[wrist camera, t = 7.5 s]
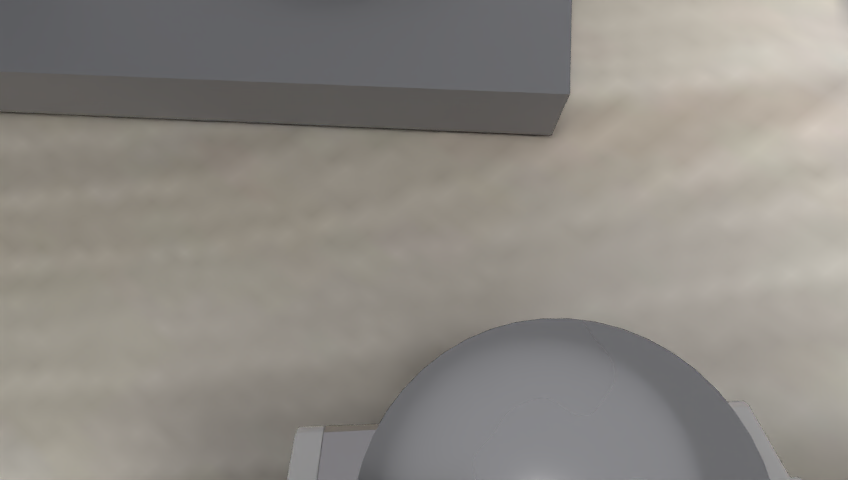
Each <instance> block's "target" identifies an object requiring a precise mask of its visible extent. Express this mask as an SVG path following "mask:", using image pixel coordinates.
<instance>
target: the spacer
mask: <svg viewBox="0 0 848 480" xmlns="http://www.w3.org/2000/svg"><path fill="white" fill-rule="evenodd" d="M357 480H770V478H769V475H768V472H767V470H766V467H765V464H764V461H763V459H762V457H761V455H760V453H759V451H758V449H757V447H756V445H755V443H754V441H753V439H752V437H751V435H750V434H749V432H748V431H747V429H746V428H745V426H744V425H743V423H742V422H741V420H740V418H739V417H738V415H737V414H736V412H735V411H734V410H733V408H732V407H731V406H730V405H729V404H728V403H727V401H726V400H725V399H724V398H723V397H722V395H721V394H720V393H719V392H718V391H717V389H716V388H715V387H714V386H712V385H711V384H710V383H709V382H708V381H707V380H706V379H705V378H704V377H703V376H702V375H701V374H700V373H698V372H697V371H696V370H695V369H694V368H693V367H691V366H690V365H689V364H687V363H686V362H684V361H683V360H682V359H680V358H679V357H678V356H676V355H675V354H673V353H672V352H670V351H668V350H667V349H665V348H663V347H661V346H659V345H658V344H656V343H654V342H652V341H650V340H649V339H646V338H644V337H641V336H639V335H636V334H634V333H631V332H629V331H626V330H624V329H621V328H617V327H614V326H610V325H606V324H602V323H598V322H593V321H585V320H577V319H536V320H529V321H521V322H515V323H511V324H508V325H504V326H501V327H497V328H493V329H490V330H488V331H485V332H483V333H481V334H478V335H476V336H473V337H471V338H469V339H466V340H465V341H463V342H461V343H460V344H458V345H456V346H455V347H453V348H451V349H449V350H448V351H446V352H444V353H443V354H442V355H440V356H439V357H438V358H436V359H435V360H434V361H433V362H431V363H430V364H429V365H428V366H426V367H425V368H424V369H422V370H421V371H420V372H419V373H418V375H417V376H416V377H415V378H414V379H413V380H412V381H411V382H410V383H409V384H408V385H407V386H406V387H405V388H404V389H403V390H402V391H401V393H400V394H399V395H398V397H397V398H396V399H395V401H394V402H393V403H392V405H391V406H390V407H389V409H388V410H387V412H386V413H385V415H384V417H383V419H382V420H381V422H380V424H379V426H378V427H377V429H376V431H375V433H374V435H373V437H372V439H371V442H370V444H369V446H368V449H367V451H366V454H365V456H364V459H363V461H362V465H361V468H360V472H359V476H358V479H357Z"/></svg>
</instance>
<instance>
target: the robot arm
mask: <svg viewBox="0 0 848 480" xmlns="http://www.w3.org/2000/svg"><path fill="white" fill-rule="evenodd" d="M727 403H728V404H729V405H730V406H731V407H732V408H733V410H734V411H735V412H736V414H737V415H738V417H739V418H740V420H741V422H742V423H743V425H744V426H745V428H746V429H747V431H748V432H749V434H750V435H751V437H752V439H753V441H754V443H755V445H756V447H757V449H758V451H759V453H760V455H761V457H762V459H763V461H764V464H765V467H766V470H767V472H768V475H769V478H770V480H802V479H801V478H799V477H790V476H789V475H788V473H787V471H786V469H785V467H784V466H783V464H782V462H781V460H780V459H779V457H778V455H777V453H776V452H775V450H774V448H773V446H772V445H771V443H770V441H769V439H768V438H767V436H766V434H765V432H764V431H763V429H762V427H761V425H760V424H759V422H758V420H757V418H756V417H755V415H754V413H753V411H752V409H751V408H750V406H749V405H748V404H747V403H746V402H744V401H733V402H727ZM378 426H379V424H364V425H334V426H313V427H298V429H297V431H296V434H295V436H294V442H293V448H292V453H291V459H290V465H289V470H288V476H287V480H357V479H358V476H359V472H360V468H361V465H362V461H363V459H364V456H365V454H366V451H367V449H368V446H369V444H370V442H371V439H372V437H373V435H374V433H375V431H376V429H377V427H378Z"/></svg>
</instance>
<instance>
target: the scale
mask: <svg viewBox="0 0 848 480" xmlns="http://www.w3.org/2000/svg"><path fill="white" fill-rule="evenodd" d="M571 12H572V0H0V111H2V112H25V113H48V114H71V115H95V116H118V117H141V118H164V119H187V120H211V121H234V122H257V123H280V124H304V125H327V126H350V127H373V128H396V129H420V130H443V131H466V132H489V133H512V134H536V135H552V133H553V131H554V128H555V126H556V124H557V122H558V119H559V117H560V115H561V113H562V110H563V108H564V106H565V104H566V102H567V99H568V97H569V95H570V60H571Z"/></svg>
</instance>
